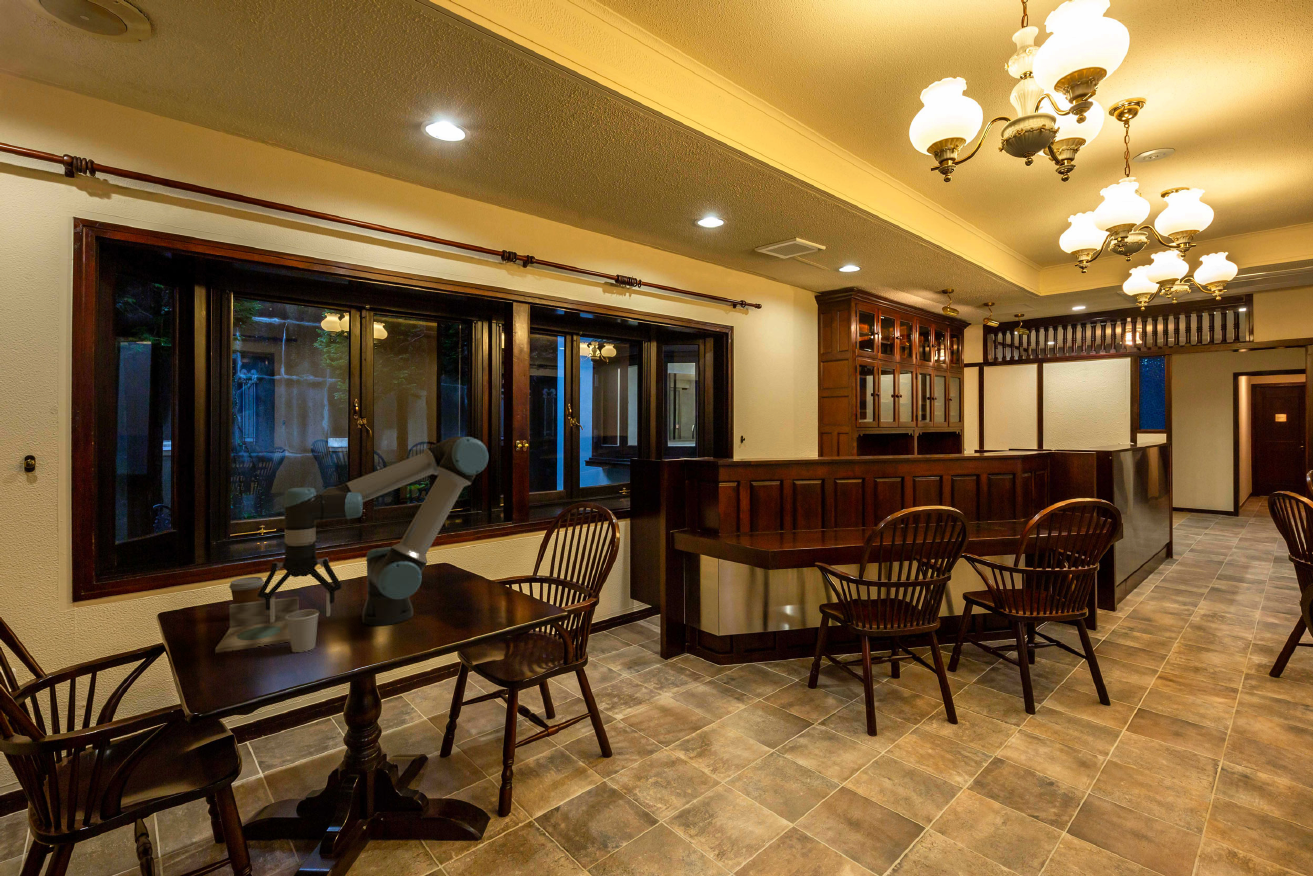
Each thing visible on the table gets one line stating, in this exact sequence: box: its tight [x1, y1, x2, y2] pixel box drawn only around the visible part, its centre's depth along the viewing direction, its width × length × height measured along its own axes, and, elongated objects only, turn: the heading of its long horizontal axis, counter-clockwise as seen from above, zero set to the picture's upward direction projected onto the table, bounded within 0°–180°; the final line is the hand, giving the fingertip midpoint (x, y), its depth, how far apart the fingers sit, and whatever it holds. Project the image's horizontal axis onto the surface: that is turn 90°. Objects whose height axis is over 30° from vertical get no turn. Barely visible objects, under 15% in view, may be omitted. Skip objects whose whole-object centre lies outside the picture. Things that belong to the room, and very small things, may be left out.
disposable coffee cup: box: [229, 576, 265, 604], centre depth 198 cm, size 10×10×12 cm
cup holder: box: [214, 596, 299, 654], centre depth 180 cm, size 18×20×8 cm
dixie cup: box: [285, 608, 320, 653], centre depth 170 cm, size 8×8×10 cm
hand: (301, 618), depth 170 cm, fingers open, 13 cm apart
